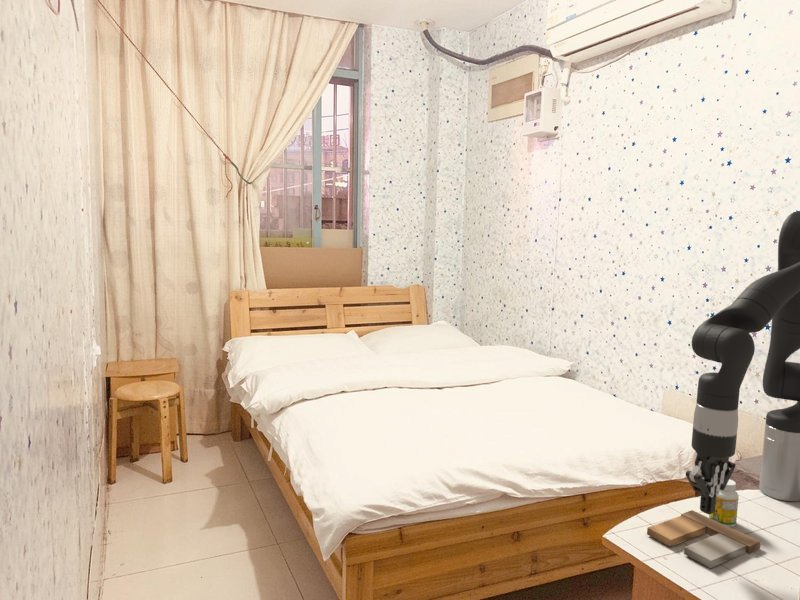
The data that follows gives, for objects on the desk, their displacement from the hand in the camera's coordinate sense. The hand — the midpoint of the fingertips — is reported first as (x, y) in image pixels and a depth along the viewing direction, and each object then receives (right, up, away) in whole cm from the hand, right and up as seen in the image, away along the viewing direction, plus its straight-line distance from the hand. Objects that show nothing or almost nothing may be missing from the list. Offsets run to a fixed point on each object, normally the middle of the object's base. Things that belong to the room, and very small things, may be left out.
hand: (707, 511), depth 114 cm
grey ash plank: (+3, -9, +2) cm, 10 cm away
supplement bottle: (+12, -8, +15) cm, 21 cm away
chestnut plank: (-2, -8, +10) cm, 13 cm away
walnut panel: (+8, -9, +10) cm, 15 cm away
